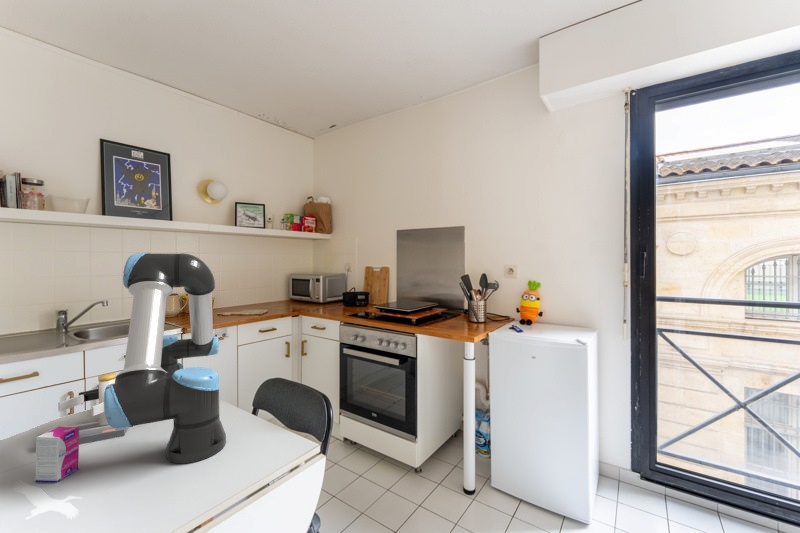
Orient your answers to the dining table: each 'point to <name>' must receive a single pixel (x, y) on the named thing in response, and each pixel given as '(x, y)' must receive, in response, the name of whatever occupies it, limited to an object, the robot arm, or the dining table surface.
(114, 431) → the switch panel
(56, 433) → the supplement box
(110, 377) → the switch handle
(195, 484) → the dining table surface
